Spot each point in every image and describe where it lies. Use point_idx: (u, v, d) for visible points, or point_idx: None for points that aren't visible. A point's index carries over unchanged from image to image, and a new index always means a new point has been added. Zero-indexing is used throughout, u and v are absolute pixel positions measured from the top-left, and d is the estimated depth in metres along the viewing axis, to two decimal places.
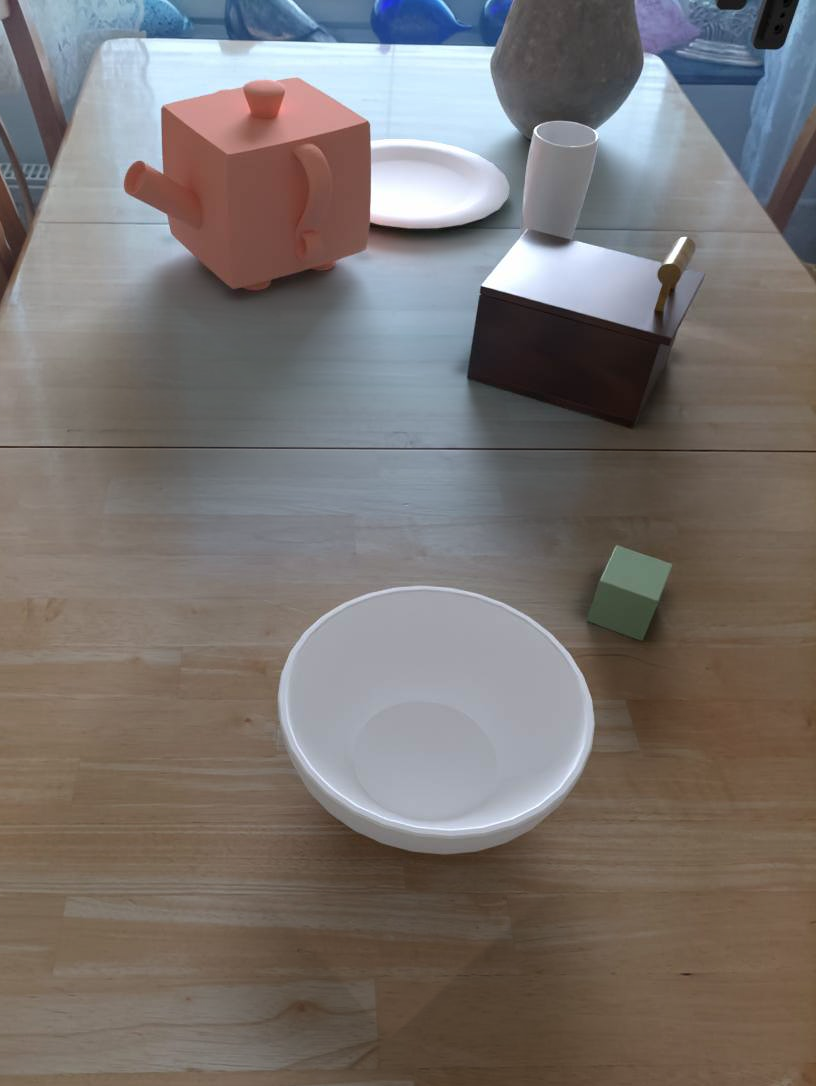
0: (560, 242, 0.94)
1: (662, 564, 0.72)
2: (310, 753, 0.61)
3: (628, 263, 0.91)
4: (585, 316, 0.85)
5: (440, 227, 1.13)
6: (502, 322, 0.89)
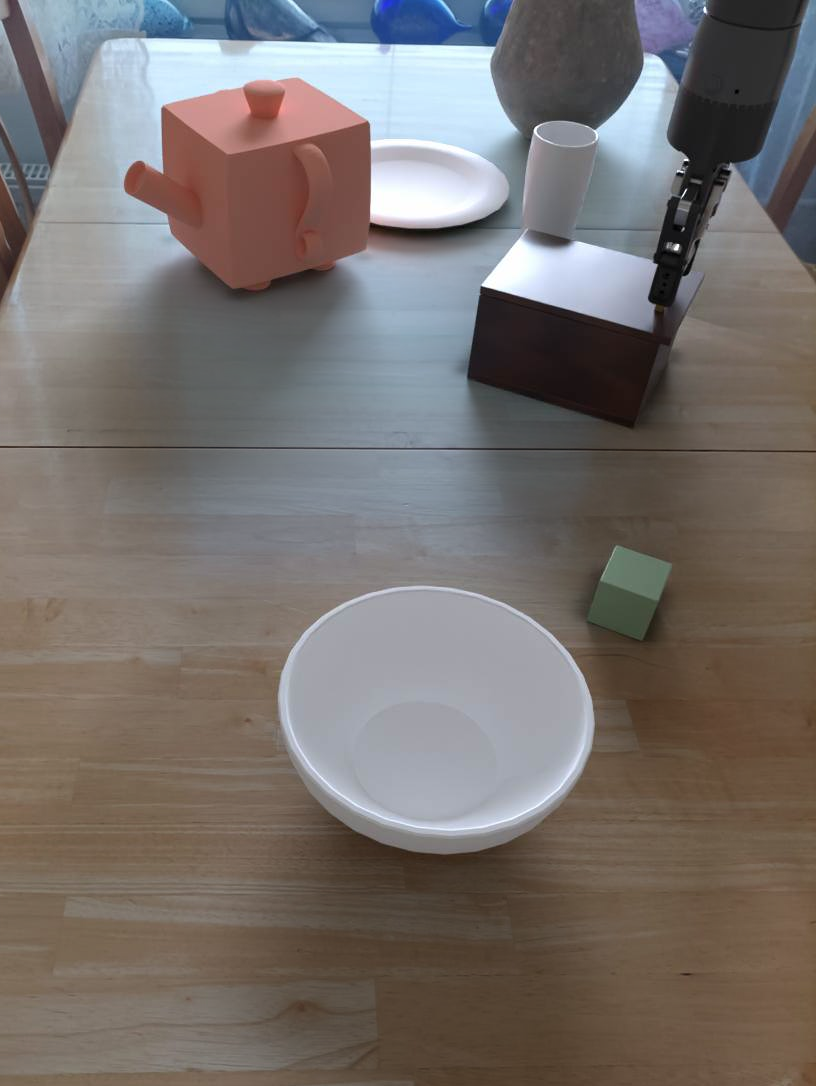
0: (560, 242, 0.94)
1: (662, 564, 0.72)
2: (310, 752, 0.61)
3: (628, 263, 0.91)
4: (585, 316, 0.85)
5: (440, 227, 1.13)
6: (502, 322, 0.89)
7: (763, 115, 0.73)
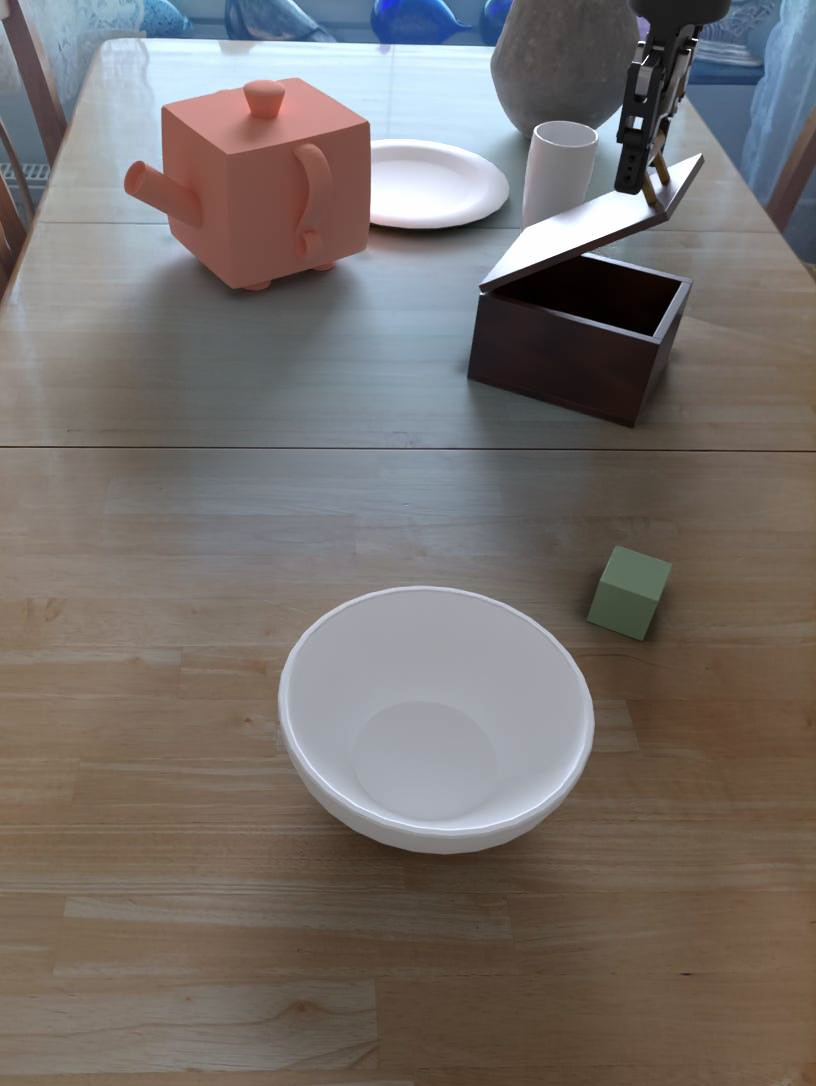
0: (556, 218, 0.93)
1: (662, 564, 0.72)
2: (310, 752, 0.61)
3: None
4: (578, 248, 0.82)
5: (440, 227, 1.13)
6: (502, 322, 0.89)
7: None
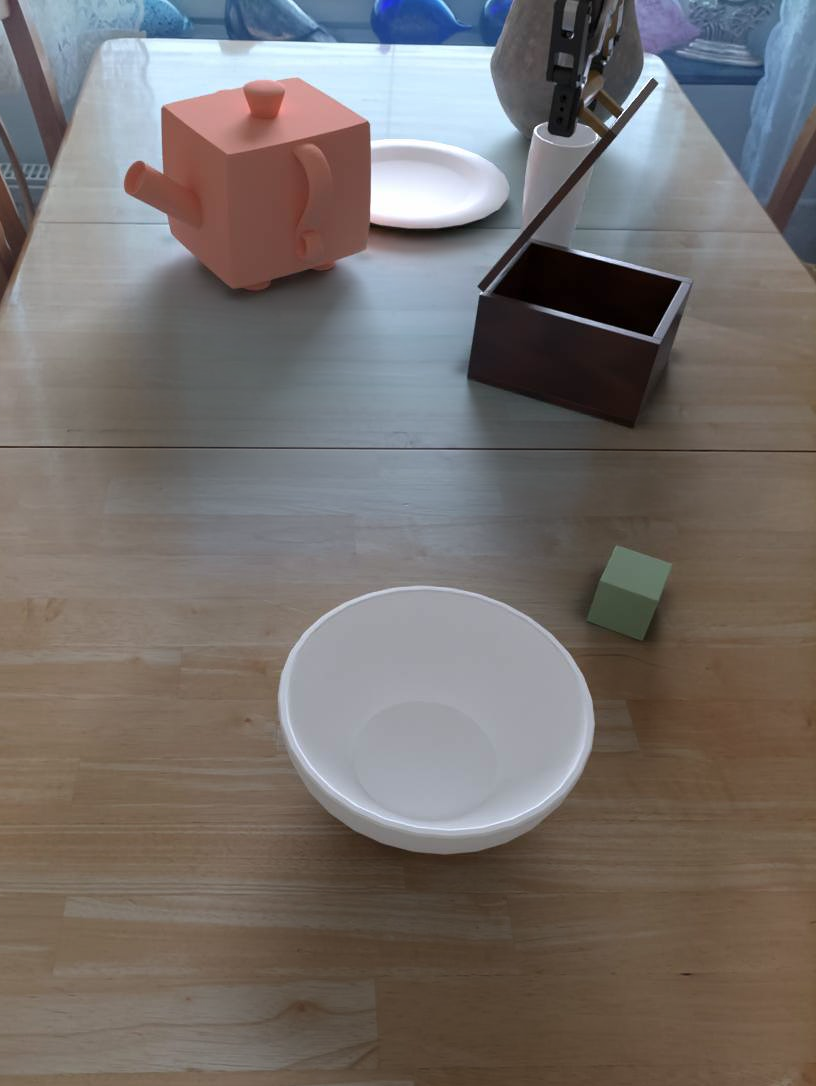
0: None
1: (662, 564, 0.72)
2: (310, 752, 0.61)
3: None
4: (547, 205, 0.80)
5: (440, 227, 1.13)
6: (502, 322, 0.89)
7: None
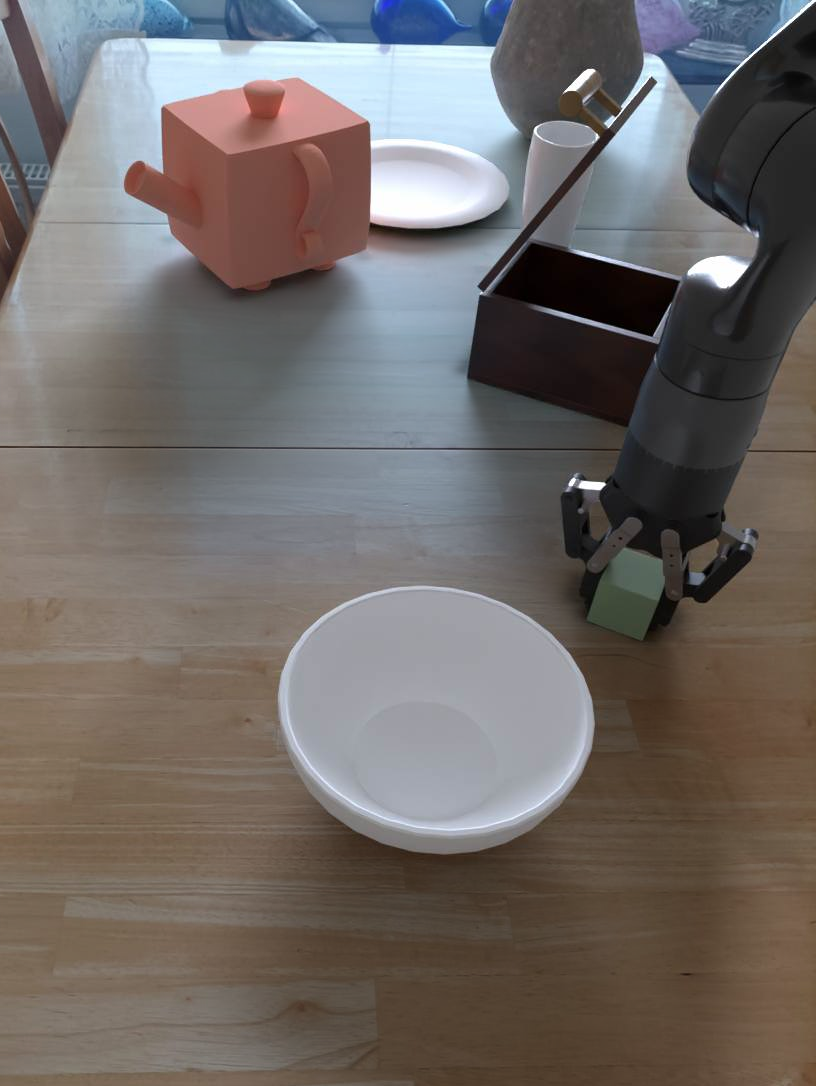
0: None
1: (662, 564, 0.72)
2: (310, 752, 0.61)
3: None
4: (546, 205, 0.80)
5: (440, 227, 1.13)
6: (502, 322, 0.89)
7: (641, 460, 0.61)
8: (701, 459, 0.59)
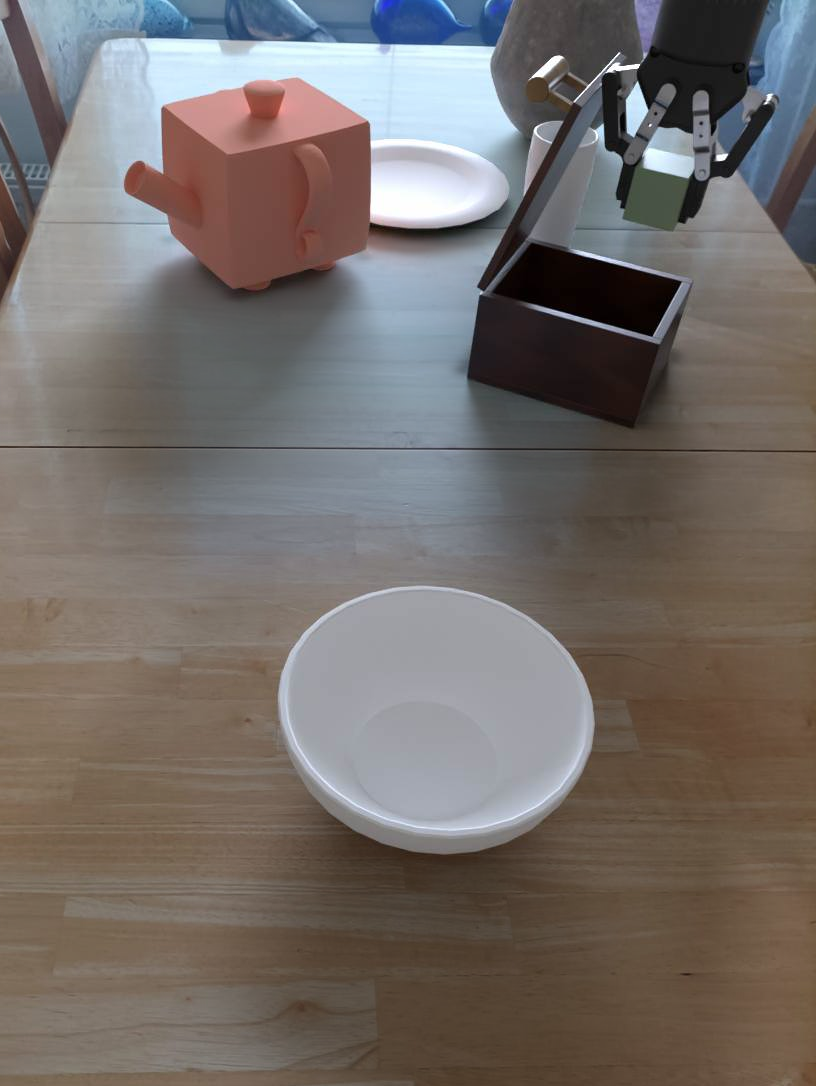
0: None
1: (691, 158, 0.80)
2: (310, 752, 0.61)
3: None
4: (528, 191, 0.80)
5: (440, 227, 1.13)
6: (502, 322, 0.89)
7: (678, 4, 0.70)
8: None
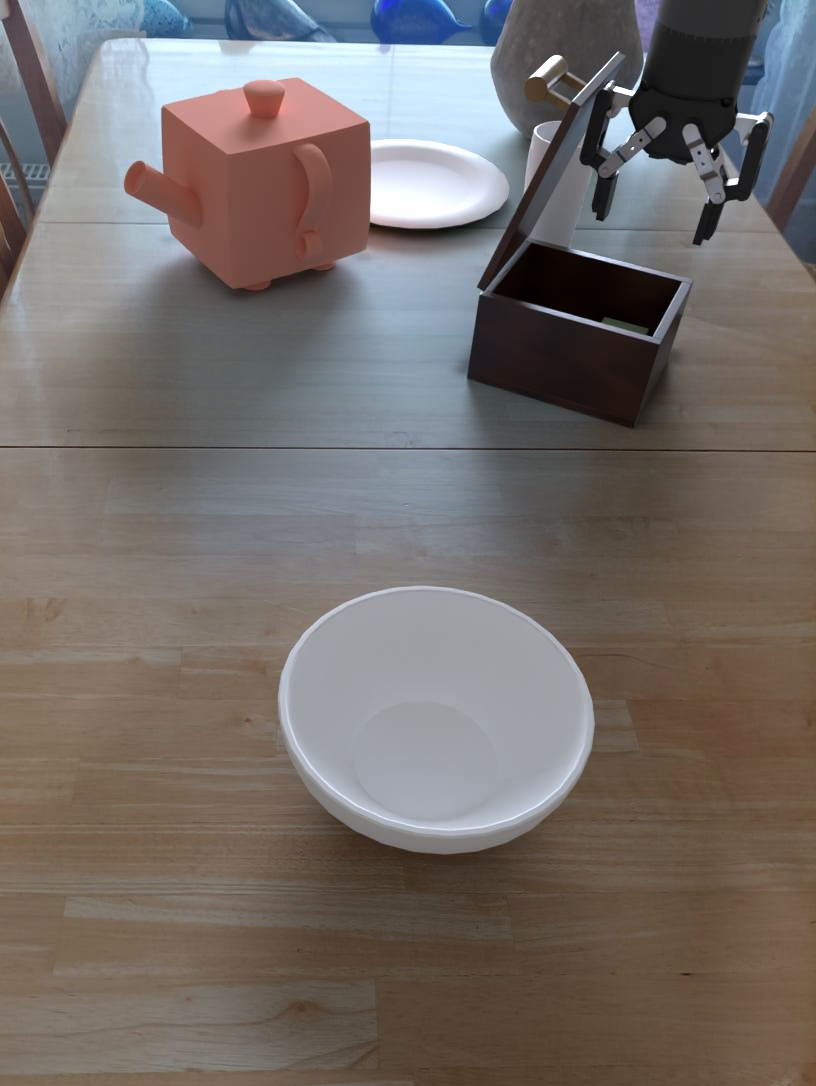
0: None
1: (640, 328, 0.92)
2: (310, 752, 0.61)
3: None
4: (528, 191, 0.80)
5: (440, 227, 1.13)
6: (502, 322, 0.89)
7: (667, 41, 0.72)
8: (718, 26, 0.69)
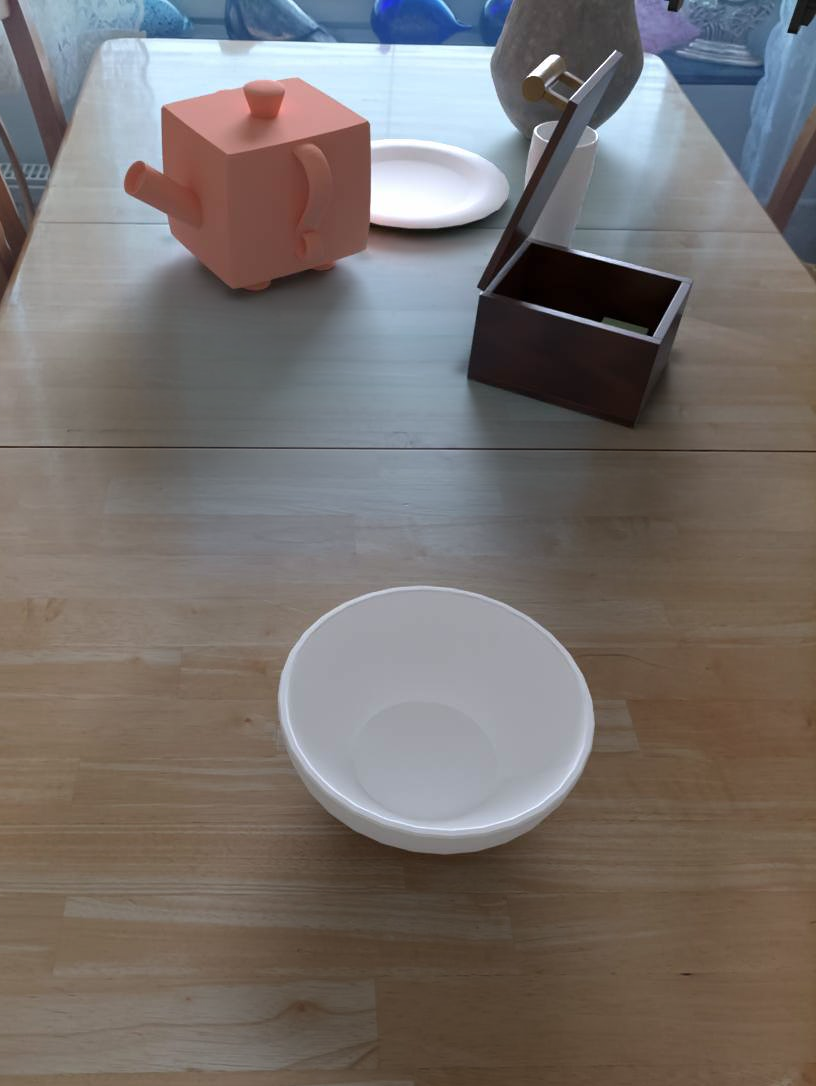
0: None
1: (640, 328, 0.92)
2: (310, 752, 0.61)
3: None
4: (526, 190, 0.80)
5: (440, 227, 1.13)
6: (502, 322, 0.89)
7: None
8: None
